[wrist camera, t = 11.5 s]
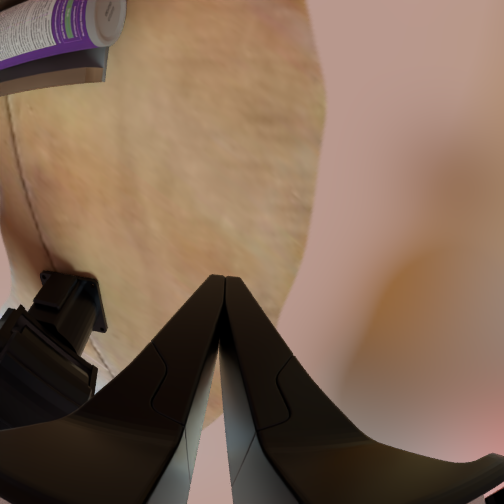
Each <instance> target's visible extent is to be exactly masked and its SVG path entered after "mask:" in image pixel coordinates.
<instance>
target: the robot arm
mask: <svg viewBox="0 0 504 504" xmlns="http://www.w3.org/2000/svg"><path fill="white" fill-rule="evenodd" d="M40 278H41V282H42V285H43V287H42V288H41V290H40V291H39V292H38V294H37V295H36V297H35V298H34V299H33V302H34V303H33V305H32V306H31V308H30V309H29V311H28V312H27V311H26V310H25V308H24V307H23V306H22V305H21V304H20V306H19V307H18V309H17V310H16V309H12V308H8V309H7V311H6V312H5V313H4V315H3V316H2V318H1V319H0V504H187V500H188V495H189V490H190V484H191V479H192V474H193V470H194V465H195V460H196V455H197V450H198V445H199V440H200V435H201V431H202V426H203V421H204V416H205V411H206V406H207V402H208V397H209V392H210V388H211V383H212V378H213V373H214V369H215V364H216V359H217V354H218V348H219V361H220V375H221V388H222V400H223V411H224V422H225V433H226V442H227V453H228V462H229V471H230V480H231V487H232V496H233V504H504V487H503V488H501V489H499V490H497V491H496V492H494V493H493V494H491V495H489V496H487V497H486V498H484V495H483V494H485V493H487V492H488V491H490V490H491V489H493V488H495V487H496V486H498V485H499V484H501V483H502V482H504V456H502V455H498V454H495V453H491V454H488V455H486V456H484V457H482V458H480V459H478V460H476V461H472V462H466V463H454V462H448V461H443V460H438V459H434V458H430V457H426V456H423V455H419V454H415V453H411V452H408V451H405V450H401V449H398V448H394V447H391V446H388V445H385V444H382V443H379V442H377V441H375V440H373V439H371V438H370V437H368V436H367V435H365V434H364V433H363V432H362V431H360V430H359V429H358V428H357V427H356V426H355V425H354V424H353V423H352V422H351V421H350V420H349V419H348V418H347V416H346V415H345V414H343V412H342V411H340V409H339V408H338V407H337V406H336V405H335V404H334V403H333V402H332V401H331V400H330V399H329V398H328V397H327V396H326V394H325V393H324V392H323V391H322V390H321V389H320V388H319V386H318V385H317V384H316V383H315V382H314V381H313V380H312V378H311V377H310V376H309V374H308V373H307V372H306V370H305V369H304V368H303V367H302V365H301V364H300V362H299V361H298V360H297V358H296V357H295V356H293V353H292V351H291V350H290V349H289V347H288V346H287V344H286V343H285V341H284V340H283V339H282V337H281V336H280V334H279V333H278V331H277V330H276V329H275V327H274V326H273V324H272V323H271V321H270V320H269V318H268V317H267V316H266V314H265V313H264V311H263V310H262V308H261V307H260V305H259V304H258V303H257V301H256V300H255V298H254V297H253V295H252V294H251V292H250V291H249V289H248V288H247V287H246V285H245V284H244V282H243V281H242V279H241V278H240V277H233V276H227V277H226V278H225V276H223V275H214V274H211V275H210V276H209V277H208V278H207V279H206V280H205V281H204V282H203V283H202V285H201V286H200V287H199V288H198V289H197V290H196V291H195V292H194V293H193V295H192V296H191V297H190V298H189V299H188V300H187V301H186V302H185V303H184V305H183V306H182V307H181V308H180V309H179V310H178V311H177V312H176V313H175V315H174V316H173V317H172V318H171V319H170V320H169V321H168V322H167V324H166V325H165V326H164V327H163V328H162V329H161V330H160V331H159V332H158V334H157V335H156V336H155V337H154V338H153V339H152V340H151V342H150V343H149V344H148V345H147V346H146V347H145V348H144V349H143V350H142V352H141V353H140V354H139V355H138V356H137V357H136V358H135V359H134V360H133V361H132V362H131V363H130V364H129V365H128V366H127V367H126V368H125V369H124V370H123V371H121V372H120V373H119V374H118V375H117V376H116V377H115V378H114V379H112V380H111V381H110V382H109V383H108V384H107V385H105V386H104V387H103V388H102V389H101V390H100V391H98V392H97V393H96V394H95V386H96V379H97V372H98V368H97V367H95V366H94V365H91V364H90V363H88V362H87V361H86V360H84V359H83V358H82V357H81V355H82V352H83V350H84V348H85V345H86V343H87V341H88V339H89V336H90V334H91V332H92V331H97V332H102V333H105V332H106V331H107V329H108V327H107V323H106V318H105V314H104V309H103V304H102V299H101V294H100V289H99V284H98V282H97V280H95V279H92V278H86V277H80V276H73V275H67V274H62V273H56V272H50V271H42V272H41V274H40ZM92 284H94V285H92ZM94 394H95V395H94Z"/></svg>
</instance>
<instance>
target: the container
mask: <svg viewBox="0 0 504 504" xmlns="http://www.w3.org/2000/svg"><path fill="white" fill-rule="evenodd" d="M125 17H126V0H29V1H26V2H24V3H21V4H19V5H16V6H14V7H11V8H9V9H7V10H5V11H2V12H0V70H2V69H5V68H8V67H12V66H15V65H18V64H22V63H25V62H29V61H33V60H36V59H40V58H45V57H49V56H53V55H58V54H63V53H68V52H73V51H79V50H85V49H92V48H99V47H106V46H111V45H113V44H114V43H115V42H116V41H117V40H118V38H119V36H120V34H121V32H122V29H123V26H124V22H125Z"/></svg>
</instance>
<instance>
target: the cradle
mask: <svg viewBox="0 0 504 504" xmlns="http://www.w3.org/2000/svg"><path fill="white" fill-rule="evenodd" d="M26 1H29V0H0V12H2V11H5V10H7V9H9V8H11V7H14V6H16V5H19V4H21V3H24V2H26ZM108 50H109V46H106V47H99V48H92V49H85V50H79V51H73V52H68V53H63V54H58V55H53V56H49V57H45V58H40V59H36V60H33V61H29V62H25V63H22V64H18V65H15V66H12V67H8V68H5V69H2V70H0V96H4V95H9V94H13V93H18V92H24V91H29V90H35V89H41V88H48V87H55V86H63V85H72V84H82V83H94V82H105V76H106V66H107V58H108Z"/></svg>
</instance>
